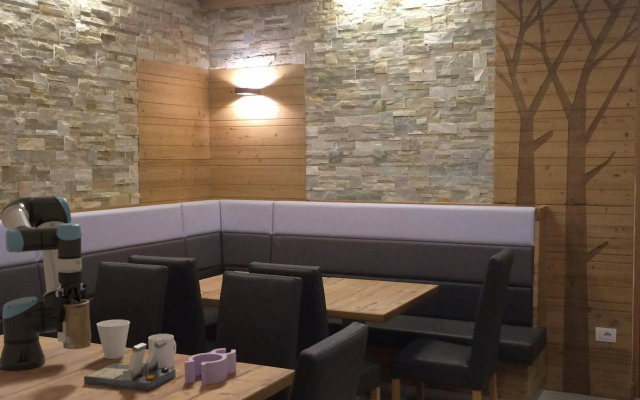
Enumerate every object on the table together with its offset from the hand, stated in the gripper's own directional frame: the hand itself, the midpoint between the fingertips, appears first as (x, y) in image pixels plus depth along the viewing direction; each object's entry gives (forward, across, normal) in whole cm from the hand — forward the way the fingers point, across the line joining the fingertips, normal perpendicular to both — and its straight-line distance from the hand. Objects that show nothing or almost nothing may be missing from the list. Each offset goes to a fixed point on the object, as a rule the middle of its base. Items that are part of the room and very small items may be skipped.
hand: (72, 337), depth 244 cm
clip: (+13, +14, -44) cm, 48 cm away
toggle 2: (+9, +8, -25) cm, 27 cm away
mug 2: (+14, +20, -23) cm, 33 cm away
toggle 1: (+9, -2, -25) cm, 26 cm away
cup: (+14, +26, +2) cm, 30 cm away
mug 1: (+3, 0, 0) cm, 3 cm away
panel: (+13, +2, -21) cm, 25 cm away
